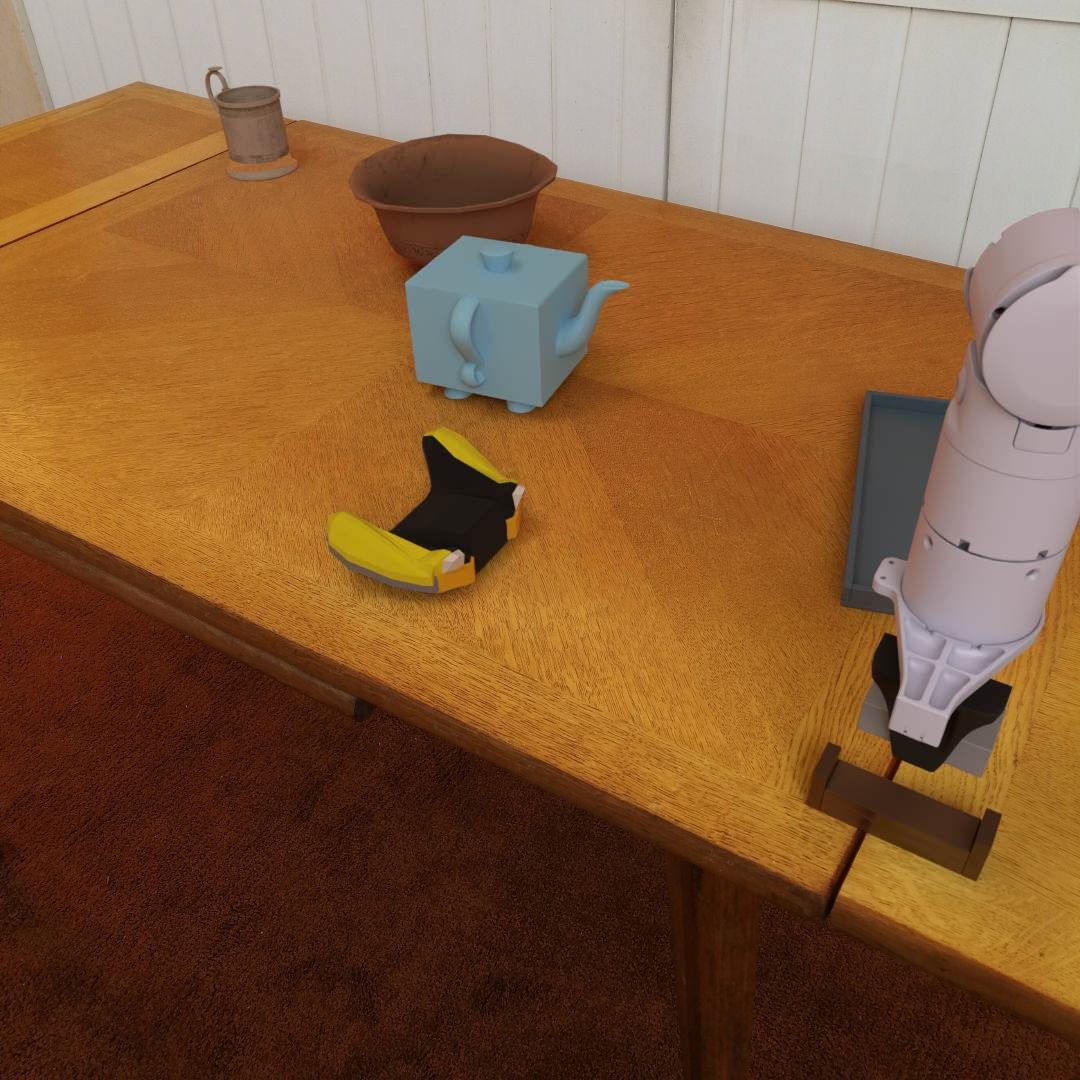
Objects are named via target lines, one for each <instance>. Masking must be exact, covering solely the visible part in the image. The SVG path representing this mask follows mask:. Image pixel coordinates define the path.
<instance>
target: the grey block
mask: <svg viewBox="0 0 1080 1080" xmlns="http://www.w3.org/2000/svg"><path fill="white" fill-rule="evenodd" d="M1006 713H1007V709H1006V708H1005V710H1004V711H1003V713H1002V714H1001V715H1000V716H999V717H998V718H997V719H996V720H995V721H994V722H993V723H992V724H989V725H985V726H982V727H980V728H978V729H976V730H974V731H972V732H971V733H969V734H968V735H967V736H965V737H964V738H963V739H962V740H961V741H960V743H959V744H958V745H957V746H956V748H955V749H954V750H953V752H952V753H951V754H950V756H949V757H948V758H947V759H946V761H945V762H944V763H943V764H945V765H947V766H949V767H951V768H954V769H957V770H959V771H961V772H964V773H967V774H969V775H972V776H974V777H977V778H979V779H982V778H983V776H984V773H985V771H986V768H987V766H988V764H989V762H990V758H991V756H992V753H993V750H994V748H995V746H996V742H997V739H998V736H999V734H1000V732H1001V728H1002V725H1003V722H1004V719H1005V716H1006ZM856 723H857V724H856V728H857V729H858V730H860V731H862V732H865V733H868V734H870V735H873V736H875V737H878V738H880V739H882V740H885V741H887V742H890V729H889V728H888V725H889V714H888V709H887V704H886V702H885V699H884V696H883V694H882V692H881V690H880V689H879V687H878V686H877V684H876V683H875V681H874V680H873V679H872V682H871V685H870V687H869V689H868V690H867V693H866V694H865V696H864V698H863V701H862V704H861V708H860V712H859V716H858V720H857V722H856Z"/></svg>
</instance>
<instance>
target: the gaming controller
mask: <svg viewBox="0 0 1080 1080" xmlns="http://www.w3.org/2000/svg"><path fill="white" fill-rule="evenodd" d="M421 450H422V454H423V457H424V462H425V466H426V470H427V474H428V478H429V483H430V490H429V492H428V494H427V495H426V497H425V498H423V499H422V501H420V503H418V504H417V506H416V507H414V508H413V509H412V510H411V511H410V512H409V513H408V514H407V515H405V516H404V518H402V519H401V521H399V522H398V523H397V524H396V525H395V526H394V527H393V528H392V529H390V530H385V529H383V528H380V527H378V526H376V524H373V523H371V522H370V521H368V520H366V519H364V518H362V517H360V516H358V515H355V514H353V513H350V512H349V511H347V510H342V511H338V512H333V513H329V515H328V518H327V522H326V523H327V525H326V541H327V546H328V551H329V552H330V553H331V554H332V555H333V556H334V557H335V558H336V559H337V560H338V561H340V563H342V564H343V566H344V567H346V568H347V569H348V570H351V571H352V572H355V573H358V574H360V575H362V576H365V577H368V578H370V579H373V580H375V581H377V582H380V583H382V584H384V585H387V586H390V587H392V588H397V589H402V590H407V591H411V592H418V593H423V594H438V595H440V594H444V593H447V592H450V591H452V590H455V589H457V588H461V587H465V586H470V585H472V584H473V583H475V582H476V576H477V575H478V574H479V573H480V572H481V571H482V569H484V567H485V566H486V565H488V563H489V562H490V561H491V560H492V559H493V558H494V557H495V555H497V553H498V552H499V551H500V550H501V549H502V548H503V547H504V545H506V544H507V543H508V541H510V540H512V539H515V538H517V537H518V535H519V533H520V527H521V522H522V514H523V502H522V497H523V494H524V492H525V490H526V486H525V485H523V484H522V483H520V481H519V480H517V479H515V478H507V477H506V476H505V475H504V474H503V473H502V472H500V470H499V469H498V468H496V467H495V466H494V465H493V464H492V463H491V462H490V461H489V460H488V459H487V458H486V457H485V456H484V455H483V454H482V453H481V452H479V451H478V449H476V447H474V446H473V445H472V444H471V443H470V441H468V440H467V439H466V438H465V437H464V436H463V435H462V434H461V433H459V432H456V431H454V430H452V429H450V428H447V427H446V426H442V427H438V428H436V429H435V428H434V429H432V430H429V431H427V432H425V433H423V435H422V439H421Z"/></svg>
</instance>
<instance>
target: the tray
mask: <svg viewBox="0 0 1080 1080" xmlns="http://www.w3.org/2000/svg"><path fill="white" fill-rule="evenodd" d="M951 400H952V399H944V398H935V397H927V396H921V395H911V394H902V393H896V392H895V393H894V392H886V391H878V390H869V389H865V394H864V399H863V403H862V409H861V419H860V428H859V437H858V445H857V454H856V464H855V470H854V481H853V488H852V489H853V490H852V497H851V507H850V517H849V525H848V533H847V543H846V551H845V552H846V553H845V561H844V570H843V578H842V586H841V595H840V606H843V607H848V608H854V609H859V610H865V611H870V612H876V613H882V614H886V615H887V614H888V615H892V616H893V615H894V616H895V608H894V603H893V601H892V600H891V599H890V598H889V597H887V596H884V595H881V594H879V593H877V592H875V591H874V589H873V588H872V583H873V579H874V575H875V573H876V571H877V569H878V568H879V566H880V564H881V562H882V561H883V560H884V559H885V558H890V557H893V558H898V559H901V560H905V561H907V560H908V556H909V552H910V549H911V545H912V541H913V537H914V533H915V530H916V526H917V522H918V519H919V515H920V511H921V507H922V503H923V498H924V495H925V491H926V487H927V483H928V479H929V476H930V472H931V468H932V464H933V460H934V456H935V453H936V449H937V445H938V441H939V437H940V434H941V430H942V426H943V422H944V418H945V414H946V411H947V408H948V406H949V404H950V402H951Z"/></svg>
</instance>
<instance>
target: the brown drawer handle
mask: <svg viewBox="0 0 1080 1080" xmlns="http://www.w3.org/2000/svg"><path fill="white" fill-rule="evenodd" d="M842 749H843V747H842V746H840V745H838V744H835V743H833V742H830V741H827V743H826V745H825V747H824V748H823V751H822V753H821V754H820V757H819V759H818V761H817V762H816V765H815V767H814V769H813V770H812V774H811V778H810V783H809V787H808V791H807V796H806V801H805V806H807V807H809V808H811V809H813V810H816V811H819V812H820V813H823V814H825V815H827V816H829V817H832V818H833V819H836V820H838V821H840V822H843V823H844V824H847V825H849V826H852V827H854V828H856V829H858V830H861V831H863V832H864V833H867V834H869V835H872V836H873V837H876V838H878V839H880V840H883V841H885V842H887V843H890V844H891V845H894V846H896V847H899V848H900V849H902V850H905V851H907V852H909V853H911V854H914V855H915V856H918V857H921V858H922V859H924V860H927V861H929V862H931V863H934V864H936V865H938V866H941V867H942V868H945V869H947V870H949V871H952V872H954V873H956V874H957V875H961V876H963V877H965V878H968V879H969V880H971V881H974V882H977V881H978V880H979V878H980V876H981V873H982V871H983V870H984V869H983V868H984V866H985V864H986V862H987V859H988V857H989V855H990V853H991V851H992V848H993V845H994V842H995V838H996V837H997V836H996V835H997V833H998V829H999V826H1000V822H1001V820H1002V817H1003V814H1002V813H1001V812H998V811H996V810H994V809H992V808H988V807H986V808H985V810H984V812H983V814H982V817H981V818H980V817H979V816H975V815H973V814H972V813H971V814H970V813H969V812H966V811H964V810H962V809H959V808H956V807H955V806H952V805H950V804H947V803H946V802H942V801H940V800H938V799H936V798H933V797H930V796H928V795H926V794H923V793H921V792H919V791H916V790H914V789H912V788H909V787H907V786H904V785H902V784H900V783H897V782H895V781H892V780H890V779H888V778H885V777H884V776H880V775H879V774H876V773H874V772H872V771H869V770H867V769H864V768H862V767H860V766H857V765H855V764H854V763H853V764H852V763H850V762H848V761H845V760H844V759H840V757H841V753H842Z"/></svg>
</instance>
